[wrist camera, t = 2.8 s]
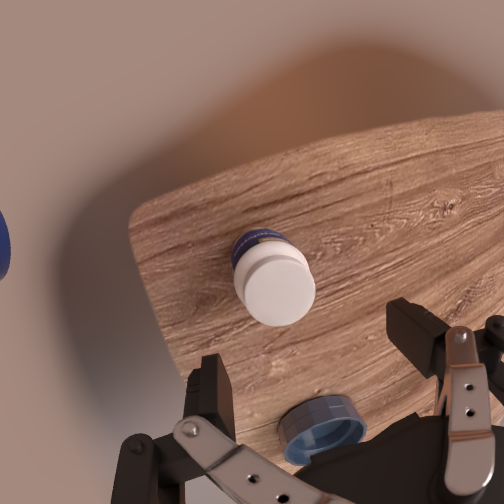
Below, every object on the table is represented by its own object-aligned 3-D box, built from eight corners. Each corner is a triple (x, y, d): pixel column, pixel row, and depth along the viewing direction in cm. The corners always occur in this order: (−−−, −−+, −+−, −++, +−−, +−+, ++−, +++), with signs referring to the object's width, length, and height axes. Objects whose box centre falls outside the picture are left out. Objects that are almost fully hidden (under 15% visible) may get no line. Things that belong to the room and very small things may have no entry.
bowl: (269, 445, 35) (274, 469, 30) (288, 394, 32) (297, 421, 27) (338, 439, 36) (347, 460, 32) (365, 390, 34) (379, 412, 29)
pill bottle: (275, 215, 26) (307, 236, 16) (297, 267, 28) (334, 311, 18) (220, 241, 26) (220, 276, 16) (245, 291, 28) (258, 346, 18)
